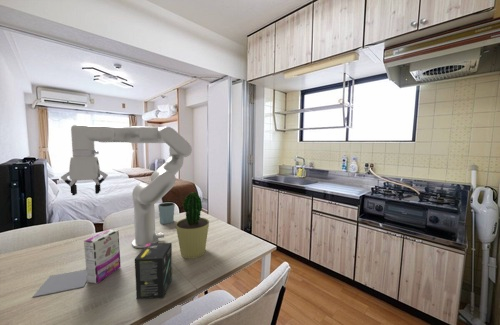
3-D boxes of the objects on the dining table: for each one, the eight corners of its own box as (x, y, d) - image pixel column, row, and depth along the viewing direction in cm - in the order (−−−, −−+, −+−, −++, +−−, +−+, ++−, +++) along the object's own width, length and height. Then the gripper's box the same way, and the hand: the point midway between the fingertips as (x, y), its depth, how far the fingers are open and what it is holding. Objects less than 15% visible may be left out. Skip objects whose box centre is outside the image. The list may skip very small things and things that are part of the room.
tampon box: (148, 279, 81) (147, 242, 79) (172, 278, 81) (172, 242, 80) (135, 300, 70) (133, 258, 68) (163, 298, 70) (162, 257, 69)
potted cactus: (195, 241, 112) (194, 186, 109) (215, 250, 103) (215, 190, 100) (169, 253, 99) (168, 191, 97) (190, 264, 90) (189, 197, 88)
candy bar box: (111, 265, 89) (109, 228, 87) (121, 267, 88) (119, 229, 86) (85, 282, 78) (83, 240, 77) (96, 284, 77) (94, 241, 76)
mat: (93, 268, 86) (93, 268, 86) (83, 287, 75) (83, 286, 75) (50, 276, 81) (50, 275, 81) (32, 297, 70) (32, 296, 70)
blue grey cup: (155, 223, 136) (155, 205, 135) (164, 218, 146) (163, 201, 145) (169, 225, 134) (169, 206, 133) (177, 219, 144) (177, 202, 143)
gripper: (109, 153, 97) (111, 190, 98) (62, 153, 90) (65, 193, 92) (105, 154, 90) (107, 194, 92) (53, 154, 83) (57, 197, 85)
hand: (86, 193), depth 92 cm, fingers open, 7 cm apart
